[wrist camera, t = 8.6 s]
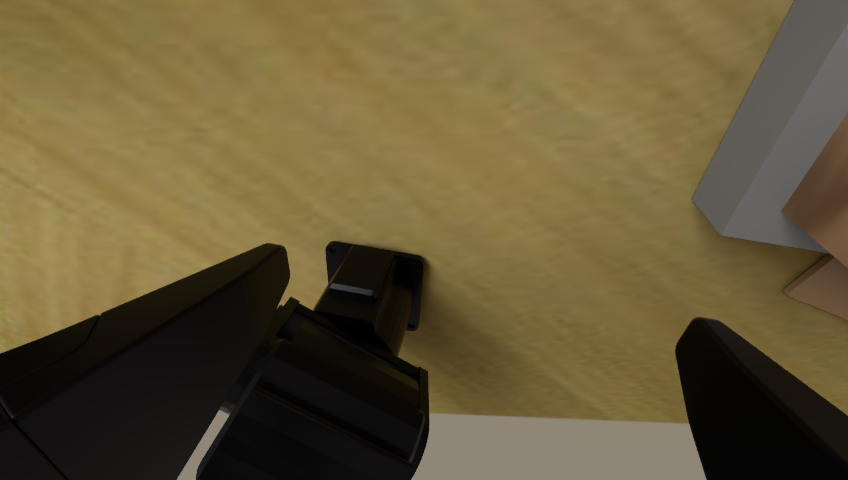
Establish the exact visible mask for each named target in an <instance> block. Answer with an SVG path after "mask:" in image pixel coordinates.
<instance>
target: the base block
mask: <svg viewBox="0 0 848 480" xmlns="http://www.w3.org/2000/svg"><path fill="white" fill-rule="evenodd" d="M847 113H848V0H794V2H793V4H792V6H791V8H790V10H789V12H788V14H787V16H786V18H785V20H784V22H783V24H782V26H781V28H780V29H779V31H778V33H777V35H776V37H775V39H774V41H773V43H772V45H771V47H770V49H769V51H768V53H767V55H766V56H765V58H764V60H763V62H762V64H761V66H760V68H759V70H758V72H757V74H756V76H755V78H754V80H753V82H752V84H751V85H750V87H749V89H748V91H747V93H746V95H745V97H744V99H743V101H742V103H741V105H740V107H739V109H738V111H737V112H736V114H735V116H734V118H733V120H732V122H731V124H730V126H729V128H728V130H727V132H726V134H725V136H724V138H723V140H722V141H721V143H720V145H719V147H718V149H717V151H716V153H715V155H714V157H713V159H712V161H711V163H710V165H709V167H708V168H707V170H706V172H705V174H704V176H703V178H702V180H701V182H700V184H699V186H698V188H697V190H696V192H695V194H694V196H693V197H692V199H691V200H692V201H693V202H694V203H695V205H696V206H697V207H698V208H699V210H700V211H701V212H702V213H703V215H704V216H705V217H706V218H707V219H708V221H709V222H710V223H711V224H712V226H713V227H714V228H715V229H716V231H717V232H718V233H719V234H720V235H722V236H728V237H734V238H740V239H746V240H752V241H758V242H764V243H770V244H776V245H782V246H788V247H794V248H800V249H806V250H812V251H818V252H824V253H829V252H828V251H827V250H826V249H825V248H823V247H822V246H821V245H820V244H819V243H818V242H816V241H815V240H814V239H813V238H812V237H810V236H809V235H808V234H807V233H806V232H805V231H803V230H802V229H801V228H800V227H799V226H798V225H796V224H795V223H794V222H793V221H792V220H790V219H789V218H788V217H787V216H786V215H785V214H783V213H782V212H781V210H782V209H783V207H784V206H785V205H786V203H787V202H788V200H789V199H790V197H791V196H792V194H793V193H794V191H795V190H796V188H797V187H798V185H799V184H800V182H801V181H802V179H803V178H804V176H805V175H806V173H807V172H808V170H809V169H810V168H811V166H812V165H813V163H814V162H815V160H816V159H817V157H818V156H819V154H820V153H821V151H822V150H823V148H824V147H825V145H826V144H827V142H828V141H829V139H830V138H831V136H832V135H833V133H834V132H835V131H836V129H837V128H838V126H839V125H840V123H841V122H842V120H843V119H844V117H845V116H846V114H847ZM830 254H831V253H830Z"/></svg>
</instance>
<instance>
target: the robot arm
mask: <svg viewBox="0 0 848 480" xmlns="http://www.w3.org/2000/svg"><path fill="white" fill-rule="evenodd" d="M332 248H334V249H336V251H335V250H333V249H332ZM326 261H327V273H328V285H327V287H326V289H325V290H324V292H323V294H322V295H321V297H320V299H319V300H318V302H317V304H316V305H315V307H314V309H313V310H311V309H309V308H307V307H305V306H303V305H302V304H300V303H299V302H300V301H298V300H296V299H294V298H293V297H290V298H289V300H288V301H287V302H286V304H285V305H284V306H282V305H280V306H279V307H278V304H279V302H280V300H281V298H282V296H283V294H284V291H285V289H286V287H287V285H288V283H289V279H290V270H289V263H288V257H287V251H286V249H285V247H284V246H282V245H277V244H271V243H266V244H263V245H261V246H258V247H256V248H254V249H251V250H249V251H247V252H244V253H242V254H240V255H237V256H235V257H233V258H230V259H228V260H225V261H223V262H221V263H218V264H216V265H214V266H211V267H209V268H207V269H204V270H202V271H200V272H197V273H195V274H192V275H190V276H188V277H185V278H183V279H181V280H178V281H176V282H174V283H171V284H169V285H167V286H164V287H162V288H159V289H157V290H155V291H152V292H150V293H148V294H145V295H143V296H141V297H138V298H136V299H134V300H131V301H129V302H126V303H124V304H122V305H119V306H117V307H115V308H112V309H110V310H108V311H105V312H103V313H101V315H100V316H99V315H96V316H93V317H91V318H89V319H86V320H84V321H82V322H79V323H77V324H75V325H72V326H70V327H67V328H65V329H62V330H60V331H57V332H55V333H53V334H50V335H48V336H45V337H43V338H40V339H38V340H35V341H32V342H30V343H27V344H24V345H22V346H19V347H17V348H14V349H11V350H9V351H6V352H3V353H1V354H0V480H177V478H178V476H179V474H180V473H181V471H182V470H183V468H184V466H185V465H186V463H187V462H188V460H189V458H190V457H191V455H192V453H193V452H194V450H195V448H196V447H197V445H198V443H199V442H200V440H201V439H202V437H203V435H204V434H205V432H206V430H207V429H208V427H209V425H210V424H211V422H212V420H213V419H214V417H215V416H216V414H217V412H218V411H219V410H221V411H223V412H225V413H228V414H229V415H230V416H229V417H228V419H227V421H226V422H225V424H224V425H223V427H222V429H221V430H220V432H219V433H218V435H217V437H216V438H215V440H214V441H213V443H212V445H211V447H210V448H209V450H208V451H207V453H206V454H205V456H204V458H203V459H202V461H201V463H200V465H199V467H198V469H197V474H196V480H411V478H412V477H413V475H414V474H415V472H416V470H417V468H418V466H419V463H420V461H421V459H422V456H423V453H424V450H425V447H426V443H427V439H428V434H429V394H428V371H426V370H424V369H423V368H421V367H418V368H417V367H415V366H414V365H412V364H410V363H408V362H406V361H404V360H403V359H401V358H399V357H398V354H399V351H400V347H401V344H402V341H403V337H404V334H405V331H406V330H409V331H415V330H417V328H418V325H419V318H420V308H421V297H422V286H423V276H424V265H425V262H424V259H423V258H422V257H421V256H418V255H413V254H407V253H401V252H395V251H391V250H385V249H379V248H373V247H367V246H361V245H354V244H348V243H342V242H336V241H332V242H329V244H328V245H327V247H326ZM413 262H417V263H419V265H416V264H414V263H413ZM277 307H278V308H277ZM276 309H277V310H276ZM410 323H412V324H410ZM675 354H676V360H677V365H678V370H679V375H680V380H681V385H682V391H683V396H684V401H685V406H686V411H687V416H688V420H689V424H690V428H691V431H692V434H693V438H694V441H695V444H696V447H697V451H698V453H699V457H700V460H701V463H702V466H703V470H704V473H705V476H706V479H707V480H848V416H847V415H846V414H845V413H843V412H842V411H841V410H839V409H838V408H837V407H835V406H834V405H833V404H831V403H830V402H829V401H827V400H826V399H824V398H823V397H822V396H820V395H819V394H818V393H816V392H815V391H814V390H812V389H811V388H810V387H808V386H807V385H806V384H804V383H803V382H802V381H800V380H799V379H797V378H796V377H795V376H793V375H792V374H791V373H789V372H788V371H787V370H785V369H784V368H783V367H781V366H780V365H779V364H777V363H776V362H775V361H773V360H772V359H770V358H769V357H768V356H766V355H765V354H764V353H762V352H761V351H760V350H758V349H757V348H756V347H754V346H753V345H752V344H750V343H749V342H748V341H746V340H745V339H743V338H742V337H741V336H739V335H738V334H737V333H735V332H734V331H733V330H731V329H730V328H729V327H727V326H726V325H725V324H723V323H722V322H720V321H718V320H714V319H708V318H702V317H697V318H694V319H693V320H692V321H691V322H690V324H689V325H688V327H687V328H686V330H685V331H684V333H683V334H682V336H681V337H680V339H679V341H678V342H677V345H676V349H675Z"/></svg>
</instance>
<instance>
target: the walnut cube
mask: <svg viewBox="0 0 848 480" xmlns="http://www.w3.org/2000/svg"><path fill="white" fill-rule="evenodd" d="M781 212H782V213H783V214H785V215H786V216H787V217H788V218H789V219H790V220H792V221H793V222H794V223H795V224H796V225H798V226H799V227H800V228H801V229H802V230H803V231H805V232H806V233H807V234H808V235H809V236H810V237H812V238H813V239H814V240H815V241H816V242H818V243H819V244H820V245H821V246H822V247H823V248H825V249H826V250H827V251H828V252H829V253H831V254H832V255H833V256H834V257H835V258H836V259H838V260H839V261H840V262H841V263H842V264H843V265H845V266H846V267H847V268H848V113H847V114H846V116H845V117H844V119H843V120H842V122H841V123H840V125H839V126H838V128H837V129H836V131H835V132H834V133H833V135H832V136H831V138H830V139H829V141H828V142H827V144H826V145H825V147H824V148H823V150H822V151H821V153H820V154H819V156H818V157H817V159H816V160H815V162H814V163H813V165H812V166H811V168H810V169H809V170H808V172H807V173H806V175H805V176H804V178H803V179H802V181H801V182H800V184H799V185H798V187H797V188H796V190H795V191H794V193H793V194H792V196H791V197H790V199H789V200H788V202H787V203H786V205H785V206H784V207H783V209H782V210H781Z"/></svg>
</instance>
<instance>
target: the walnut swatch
mask: <svg viewBox="0 0 848 480" xmlns="http://www.w3.org/2000/svg"><path fill="white" fill-rule="evenodd" d="M782 291H783V292H784V293H785V295H787V296H789V297H792V298H794V299H797V300H799V301H801V302H804V303H806V304H809V305H811V306H814V307H816V308H819V309H821V310H824V311H826V312H828V313H831V314H833V315H836V316H838V317H841V318H843V319H846V320H848V268H847V267H846V266H845V265H843V264H842V263H841V262H840V261H839V260H838V259H836V258H835V257H834V256H833V255H832V254H830V253H828V254H827V255H826V256H825V257H823V258H822V259H821V260H820V261H818V262H817V263H816V264H815V265H813V266H812V267H811V268H810V269H808V270H807V271H806V272H805V273H803V274H802V275H801V276H800V277H798V278H797V279H796V280H795V281H793V282H792V283H791V284H790V285H788V286H787V287H786V288H784V289H783V290H782Z"/></svg>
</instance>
